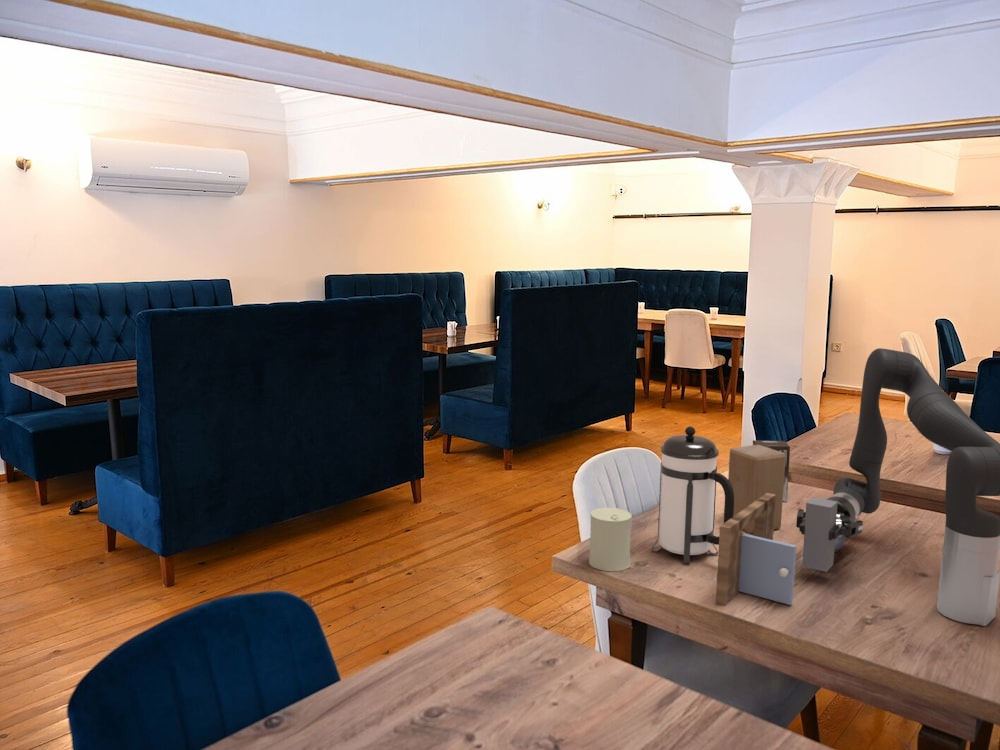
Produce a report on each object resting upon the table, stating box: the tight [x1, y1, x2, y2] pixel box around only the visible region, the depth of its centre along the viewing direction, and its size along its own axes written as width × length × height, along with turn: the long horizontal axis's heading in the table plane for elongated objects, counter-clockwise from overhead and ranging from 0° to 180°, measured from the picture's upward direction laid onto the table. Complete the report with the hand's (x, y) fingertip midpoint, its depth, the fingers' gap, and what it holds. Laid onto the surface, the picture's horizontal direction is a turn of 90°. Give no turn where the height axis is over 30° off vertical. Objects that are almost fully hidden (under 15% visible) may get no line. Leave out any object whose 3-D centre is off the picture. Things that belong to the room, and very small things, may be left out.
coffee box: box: [752, 440, 791, 503], centre depth 223 cm, size 9×6×16 cm
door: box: [739, 532, 797, 606], centre depth 159 cm, size 12×2×12 cm, turn 53°
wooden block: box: [727, 444, 786, 535], centre depth 200 cm, size 10×10×20 cm
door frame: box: [715, 493, 776, 606], centre depth 166 cm, size 27×2×16 cm, turn 143°
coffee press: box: [651, 426, 734, 565], centre depth 180 cm, size 17×16×30 cm
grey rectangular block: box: [801, 497, 838, 573], centre depth 168 cm, size 5×5×14 cm
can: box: [588, 507, 633, 572], centre depth 176 cm, size 9×9×12 cm
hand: (816, 532), depth 166 cm, fingers closed on grey rectangular block, 5 cm apart
